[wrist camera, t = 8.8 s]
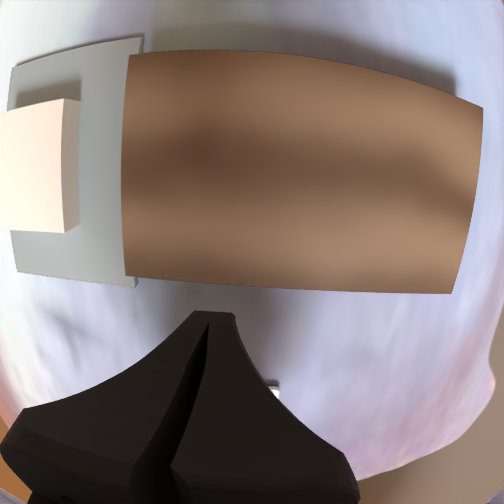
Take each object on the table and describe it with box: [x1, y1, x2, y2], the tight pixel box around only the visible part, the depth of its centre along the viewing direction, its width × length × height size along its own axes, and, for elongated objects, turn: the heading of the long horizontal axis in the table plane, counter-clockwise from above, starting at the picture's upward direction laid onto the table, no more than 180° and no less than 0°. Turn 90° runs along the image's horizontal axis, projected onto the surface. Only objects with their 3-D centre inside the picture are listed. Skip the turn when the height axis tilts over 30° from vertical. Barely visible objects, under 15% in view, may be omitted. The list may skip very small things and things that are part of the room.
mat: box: [7, 37, 144, 287], centre depth 17 cm, size 16×11×1 cm
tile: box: [0, 98, 81, 233], centre depth 15 cm, size 8×6×2 cm
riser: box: [121, 50, 483, 294], centre depth 16 cm, size 12×20×3 cm, turn 86°
